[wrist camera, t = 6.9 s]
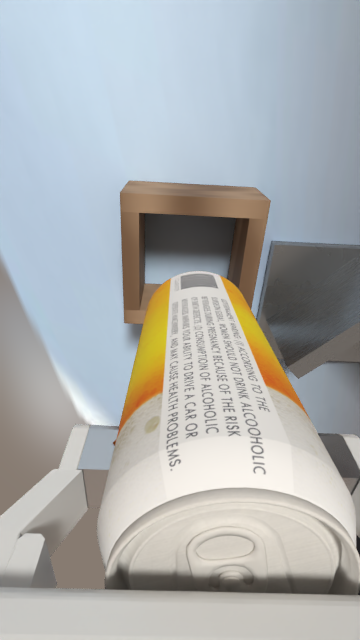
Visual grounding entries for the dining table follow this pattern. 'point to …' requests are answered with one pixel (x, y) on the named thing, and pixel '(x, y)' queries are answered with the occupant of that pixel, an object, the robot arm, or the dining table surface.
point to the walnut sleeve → (198, 202)
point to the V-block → (311, 304)
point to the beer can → (220, 462)
